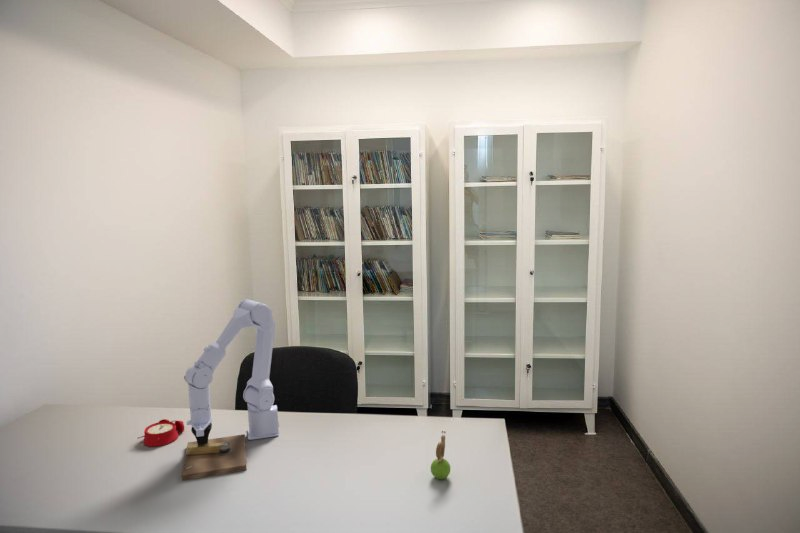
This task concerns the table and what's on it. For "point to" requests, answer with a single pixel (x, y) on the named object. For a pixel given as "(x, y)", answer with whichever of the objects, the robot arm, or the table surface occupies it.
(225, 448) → the tan wooden bar
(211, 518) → the table surface
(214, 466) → the plate
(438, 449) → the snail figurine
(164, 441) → the alarm clock
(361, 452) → the table surface
